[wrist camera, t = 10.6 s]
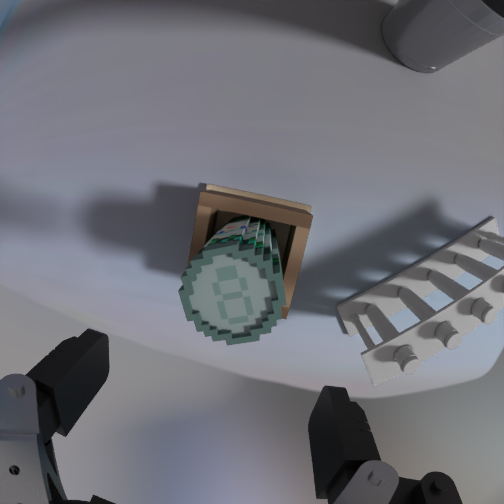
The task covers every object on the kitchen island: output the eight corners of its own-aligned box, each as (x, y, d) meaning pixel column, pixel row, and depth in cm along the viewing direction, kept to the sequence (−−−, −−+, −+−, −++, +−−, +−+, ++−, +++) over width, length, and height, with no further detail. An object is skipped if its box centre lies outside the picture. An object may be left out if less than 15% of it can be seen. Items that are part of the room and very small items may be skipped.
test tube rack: (348, 334, 35) (379, 402, 23) (335, 305, 35) (367, 369, 22) (498, 245, 32) (562, 272, 19) (492, 216, 31) (560, 235, 18)
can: (271, 209, 31) (273, 237, 17) (282, 266, 33) (292, 334, 18) (213, 221, 32) (168, 258, 17) (226, 276, 33) (196, 349, 19)
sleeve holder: (209, 183, 32) (196, 185, 26) (310, 205, 32) (319, 211, 26) (192, 280, 35) (177, 300, 29) (286, 300, 35) (289, 324, 29)
